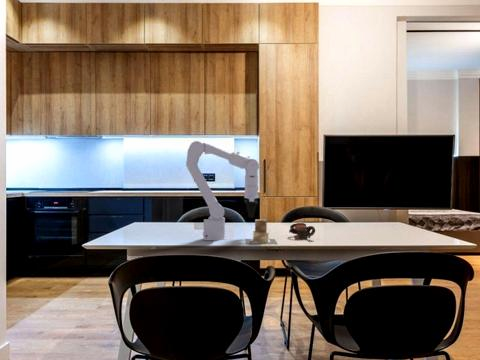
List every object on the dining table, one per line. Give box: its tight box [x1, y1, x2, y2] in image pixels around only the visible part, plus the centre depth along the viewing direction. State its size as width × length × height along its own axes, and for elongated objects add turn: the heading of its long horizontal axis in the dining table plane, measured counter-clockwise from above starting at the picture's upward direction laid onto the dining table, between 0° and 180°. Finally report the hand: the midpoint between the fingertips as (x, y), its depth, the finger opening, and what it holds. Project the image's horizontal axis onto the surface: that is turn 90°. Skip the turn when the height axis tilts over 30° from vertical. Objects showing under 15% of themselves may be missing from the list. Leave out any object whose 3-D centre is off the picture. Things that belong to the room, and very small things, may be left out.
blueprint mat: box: [244, 238, 278, 245], centre depth 175 cm, size 13×13×1 cm
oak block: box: [252, 230, 269, 242], centre depth 176 cm, size 6×6×4 cm
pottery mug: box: [288, 222, 316, 241], centre depth 186 cm, size 12×10×8 cm
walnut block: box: [254, 218, 268, 232], centre depth 176 cm, size 4×4×5 cm
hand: (251, 216), depth 184 cm, fingers open, 7 cm apart
